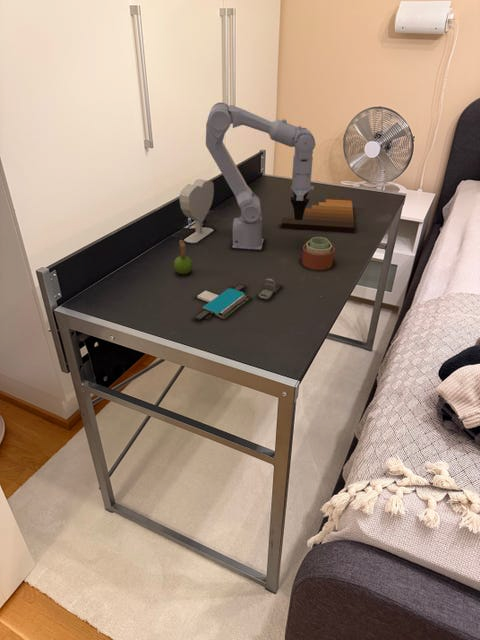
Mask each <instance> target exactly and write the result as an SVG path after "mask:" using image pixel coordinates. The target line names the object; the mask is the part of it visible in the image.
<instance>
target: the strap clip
mask: <svg viewBox="0 0 480 640" xmlns="http://www.w3.org/2000/svg"><path fill="white" fill-rule="evenodd" d="M264 288H265V289H262V291H260V292H259V294H258V298H259V299H262V300H266V301H267V300H269V299H271V297H273V296H274V295H273V294H274V293H276V292H277V291H279V290H280V288H281V285H280V284H277V283H276V281H275V280H274V279H273V278H269V277H268V278H265V280H264Z"/></svg>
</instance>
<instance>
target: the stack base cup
mask: <svg viewBox="0 0 480 640" xmlns="http://www.w3.org/2000/svg"><path fill="white" fill-rule="evenodd" d="M335 249H336V248H335V246H333V245H332V250H331V253H329V254H313V253H310V252H308V251H306V243H304V244H303V246H302V253H301V255H302V256H301V264H302V266H304V267H305V268H307V269H309V270H314V271H326V270H328V269H330V268H332V267H333V265H334V258H335V251H336V250H335Z"/></svg>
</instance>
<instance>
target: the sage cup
mask: <svg viewBox="0 0 480 640" xmlns="http://www.w3.org/2000/svg"><path fill="white" fill-rule="evenodd" d="M309 241H310V247H311V248H314V249H321V250H322V249H327V248H328V245H329V242H330V240H329V239H328V238H326V237H322V236H315V237H311V238H310V240H309Z"/></svg>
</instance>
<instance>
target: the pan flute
mask: <svg viewBox="0 0 480 640" xmlns="http://www.w3.org/2000/svg"><path fill="white" fill-rule="evenodd" d="M353 209H354V208H353V200H347V199H329V198H326V199H325V202H324V201H318V204H312V205H311V207H306V208H305V211H304V214H303V218H302V220H295V216H294V213H293V214H291V213H290V214H289V217H282V218H281V229H294V230H308V231H309V230H311V231H323V232H324V231H326V232H338V233H339V232H340V233H354V230H355V218H354V216H355V215H354V210H353Z"/></svg>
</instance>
